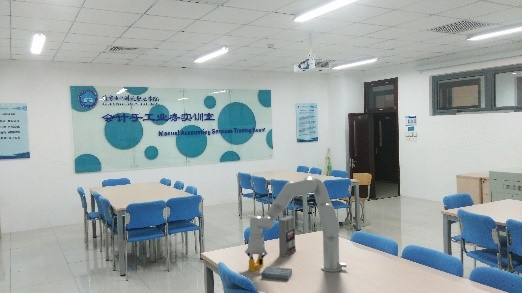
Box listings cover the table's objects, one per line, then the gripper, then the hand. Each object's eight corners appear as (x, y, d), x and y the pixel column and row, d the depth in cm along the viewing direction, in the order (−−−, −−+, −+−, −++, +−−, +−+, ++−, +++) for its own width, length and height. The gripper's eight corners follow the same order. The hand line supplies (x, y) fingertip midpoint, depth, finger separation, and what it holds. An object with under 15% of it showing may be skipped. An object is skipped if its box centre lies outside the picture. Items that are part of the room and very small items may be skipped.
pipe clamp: (254, 271, 250) (254, 261, 249) (248, 269, 252) (248, 259, 252) (265, 265, 260) (265, 255, 259) (259, 264, 262) (260, 254, 262)
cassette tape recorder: (287, 256, 276) (286, 220, 275) (279, 255, 279) (278, 219, 278) (296, 251, 288) (295, 216, 287) (288, 250, 291) (287, 215, 290)
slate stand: (292, 273, 244) (292, 268, 244) (288, 280, 234) (288, 275, 234) (266, 271, 249) (266, 266, 249) (261, 278, 239) (261, 273, 238)
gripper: (270, 235, 256) (270, 263, 256) (245, 233, 260) (245, 261, 261) (267, 238, 248) (267, 267, 249) (241, 236, 253) (241, 264, 254)
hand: (256, 263), depth 255 cm, fingers closed on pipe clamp, 5 cm apart
